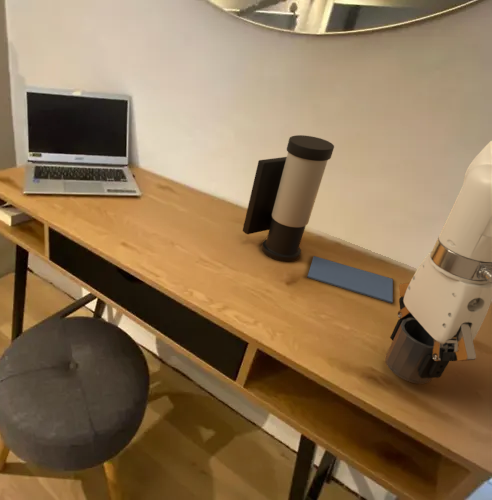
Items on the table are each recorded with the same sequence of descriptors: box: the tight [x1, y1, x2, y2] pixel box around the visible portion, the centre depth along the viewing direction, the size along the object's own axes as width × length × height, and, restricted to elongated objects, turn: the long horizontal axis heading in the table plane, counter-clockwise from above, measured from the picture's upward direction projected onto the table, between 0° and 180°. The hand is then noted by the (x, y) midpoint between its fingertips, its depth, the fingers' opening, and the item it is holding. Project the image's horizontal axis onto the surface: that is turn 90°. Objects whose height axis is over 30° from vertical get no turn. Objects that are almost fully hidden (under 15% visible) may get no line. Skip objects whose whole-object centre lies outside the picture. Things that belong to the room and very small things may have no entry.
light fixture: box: [242, 134, 335, 263], centre depth 98 cm, size 12×11×25 cm
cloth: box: [307, 255, 394, 304], centre depth 96 cm, size 16×9×1 cm, turn 65°
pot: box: [384, 318, 448, 385], centre depth 71 cm, size 7×7×7 cm
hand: (414, 356), depth 71 cm, fingers closed on pot, 6 cm apart
